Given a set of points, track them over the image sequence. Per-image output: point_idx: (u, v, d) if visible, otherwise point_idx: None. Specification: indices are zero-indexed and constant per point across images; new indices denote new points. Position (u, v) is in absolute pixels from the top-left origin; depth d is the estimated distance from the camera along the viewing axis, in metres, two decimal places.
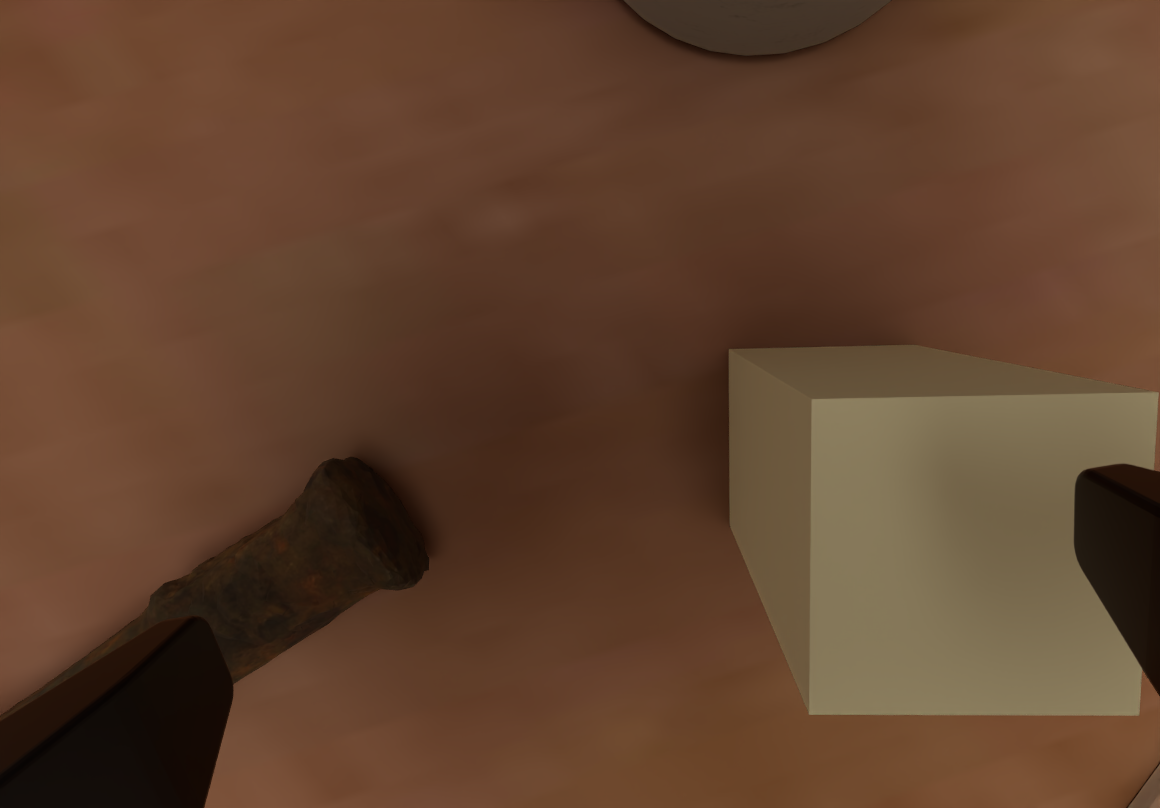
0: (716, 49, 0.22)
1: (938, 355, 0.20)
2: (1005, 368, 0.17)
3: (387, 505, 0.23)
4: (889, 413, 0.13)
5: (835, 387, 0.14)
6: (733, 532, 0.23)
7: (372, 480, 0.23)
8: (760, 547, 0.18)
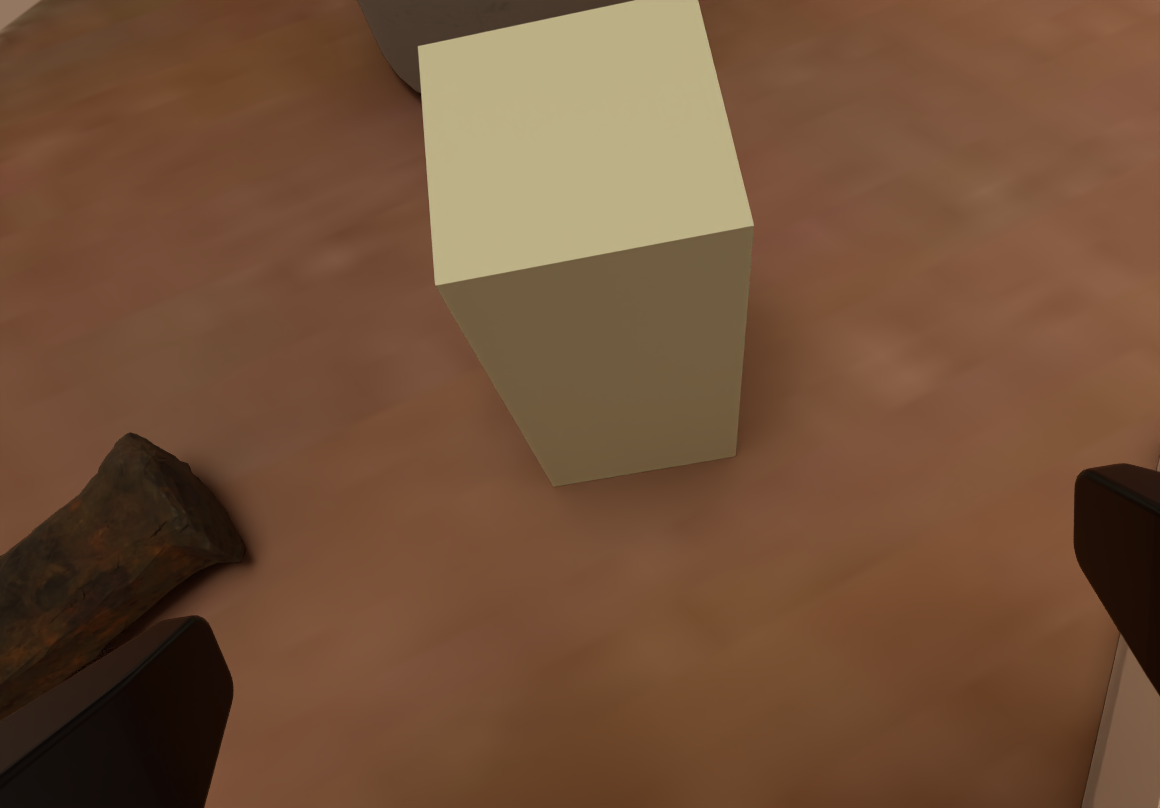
0: None
1: None
2: None
3: (197, 483, 0.23)
4: (481, 42, 0.15)
5: None
6: None
7: (187, 467, 0.24)
8: None
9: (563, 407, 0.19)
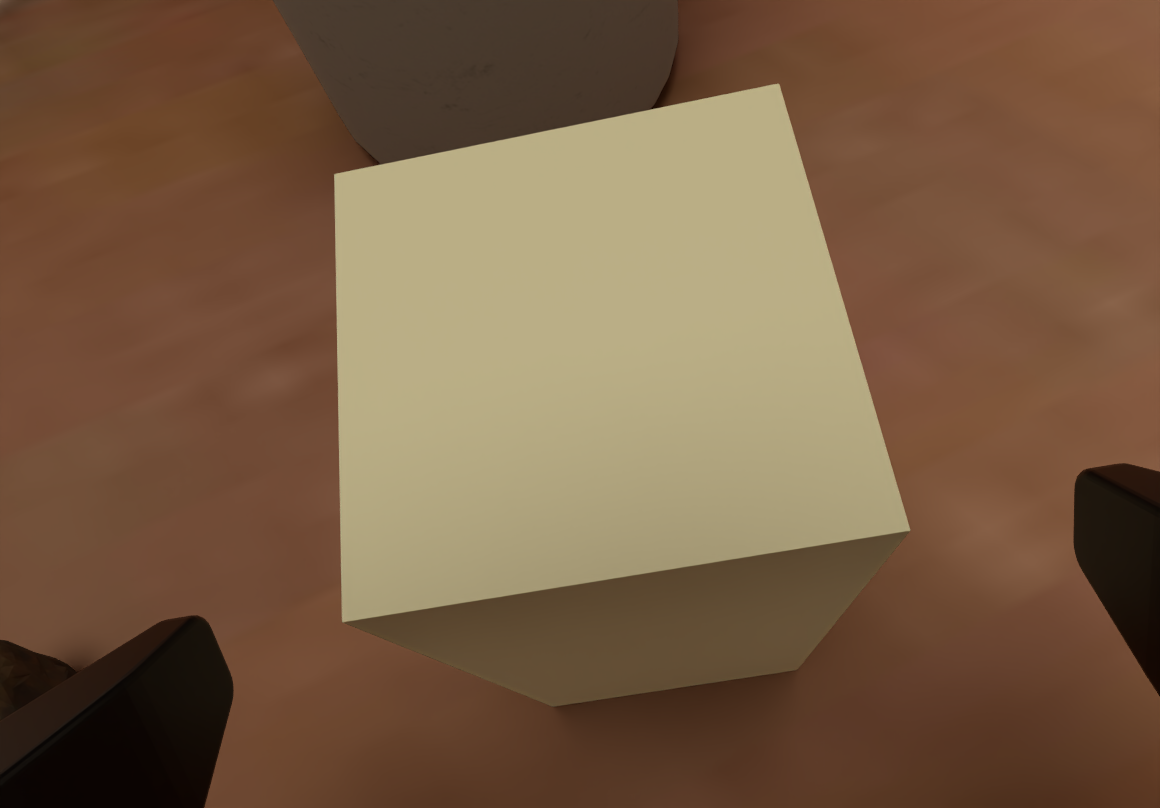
0: None
1: None
2: None
3: None
4: (434, 170, 0.10)
5: None
6: None
7: (64, 674, 0.18)
8: None
9: (566, 670, 0.13)
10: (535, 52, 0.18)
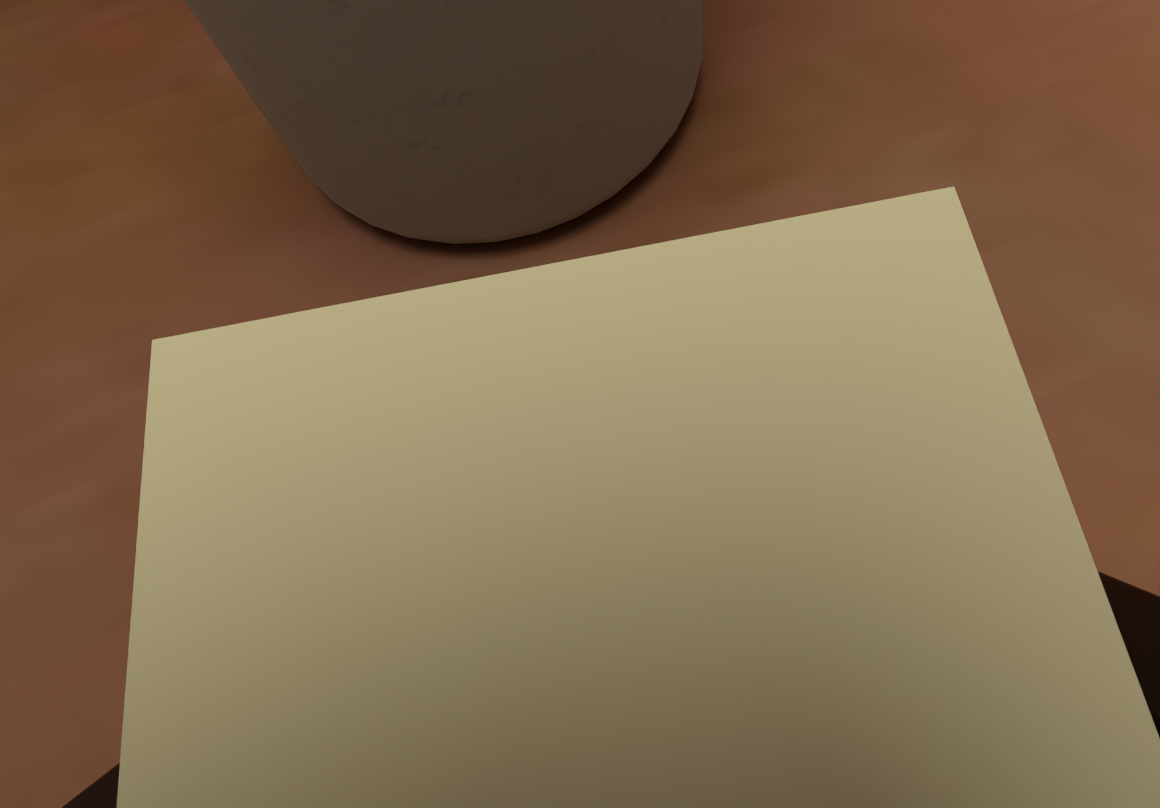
0: (449, 233, 0.18)
1: None
2: None
3: None
4: (325, 340, 0.05)
5: None
6: None
7: None
8: None
9: None
10: (525, 77, 0.14)
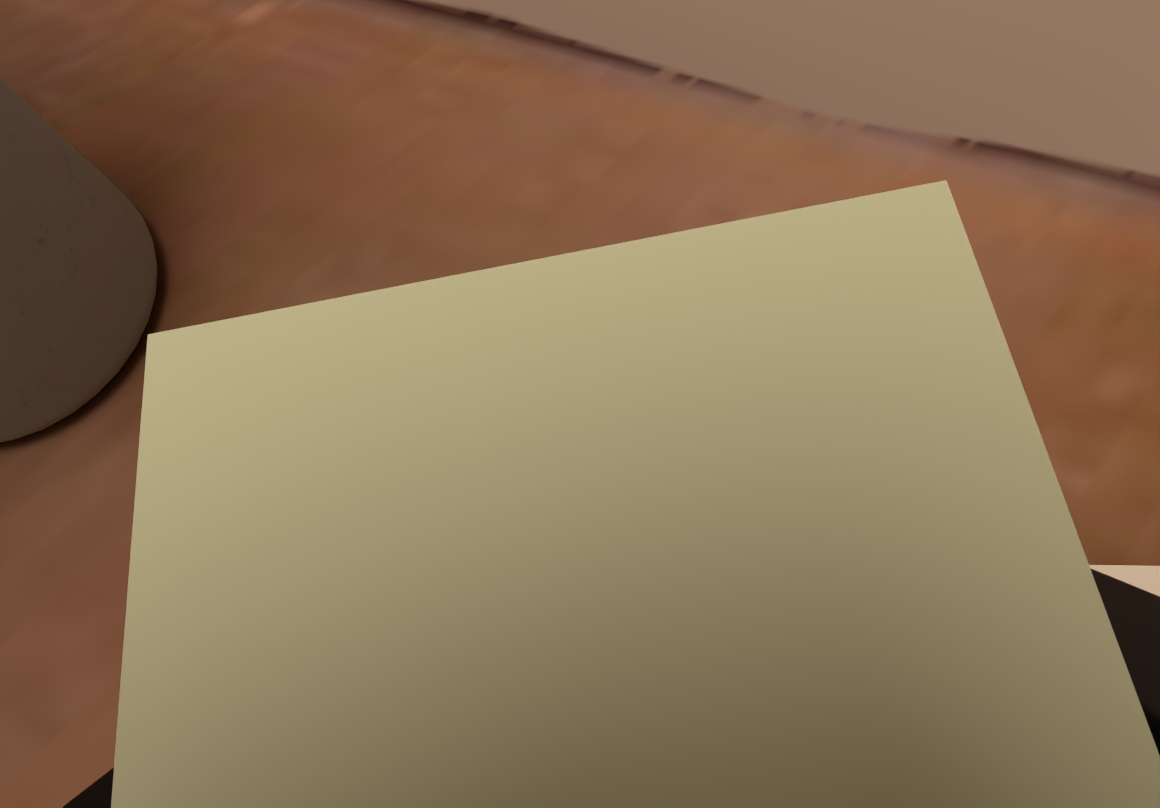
0: (4, 435, 0.26)
1: None
2: None
3: None
4: (320, 334, 0.05)
5: None
6: None
7: None
8: None
9: None
10: None
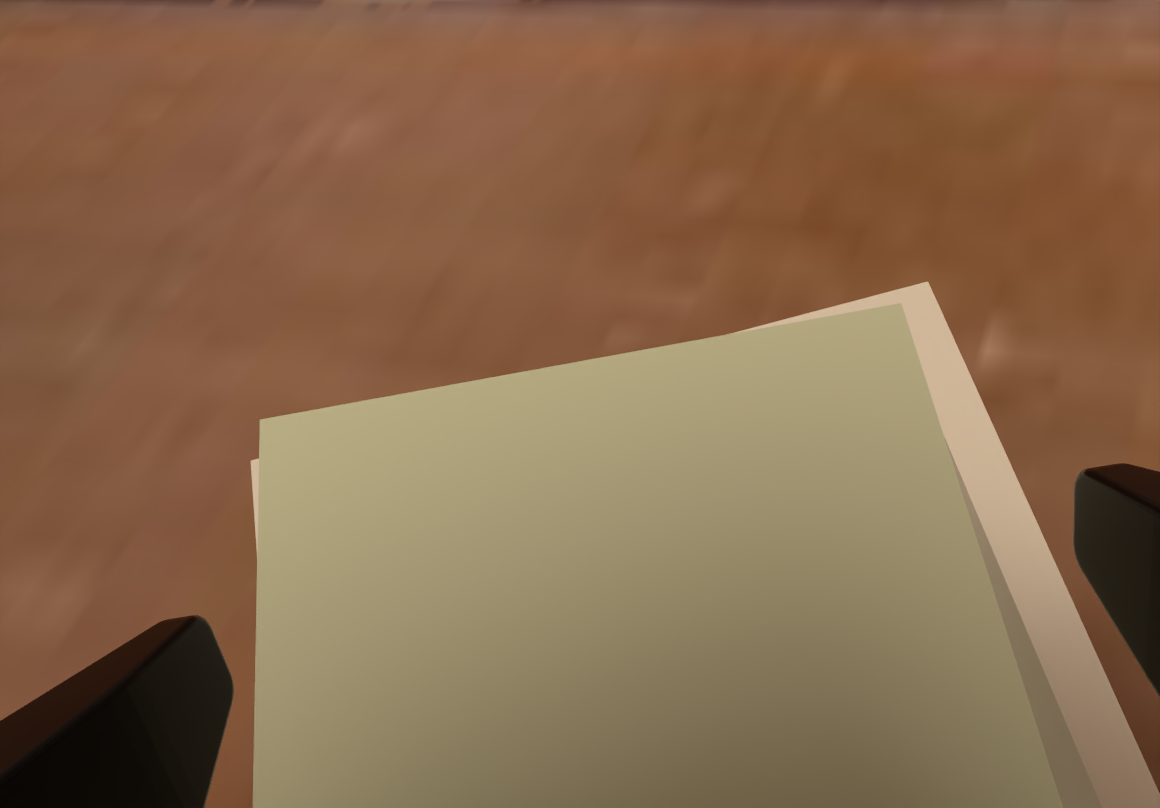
0: None
1: None
2: None
3: None
4: (401, 422, 0.07)
5: None
6: None
7: None
8: None
9: None
10: None
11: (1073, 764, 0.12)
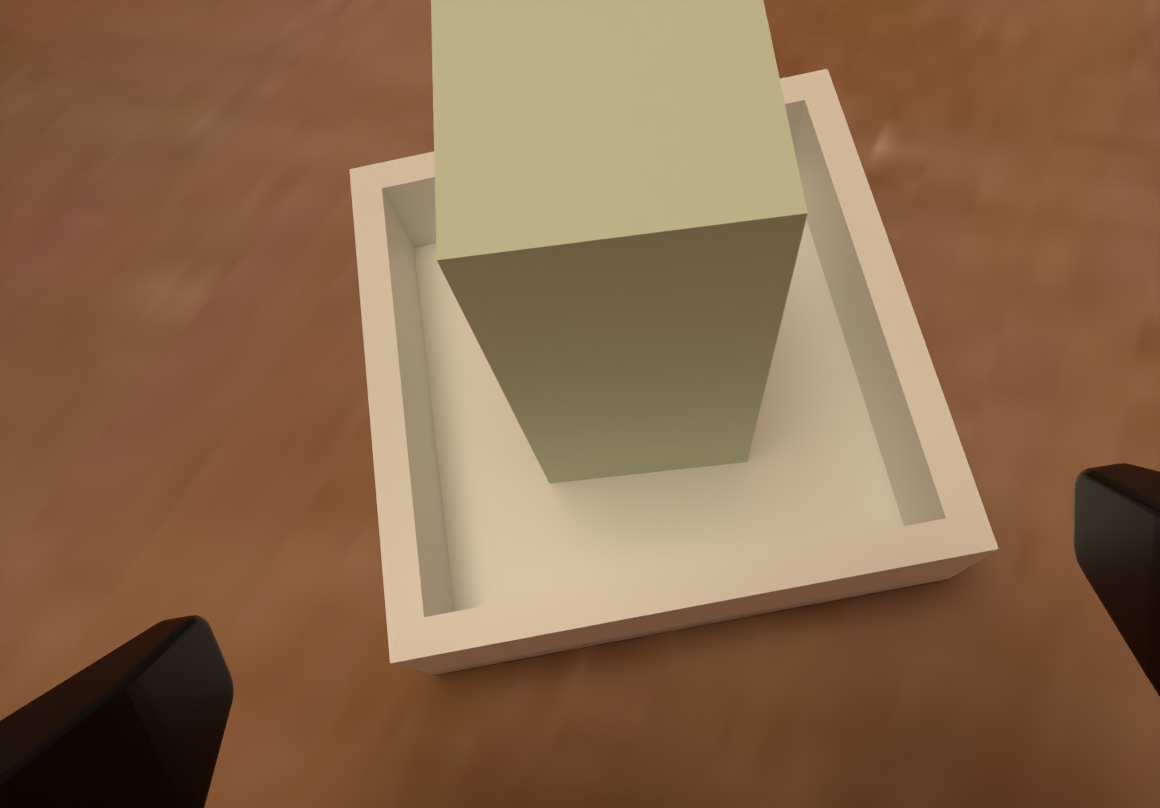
0: None
1: None
2: None
3: None
4: None
5: None
6: None
7: None
8: None
9: (568, 402, 0.17)
10: None
11: (885, 355, 0.20)
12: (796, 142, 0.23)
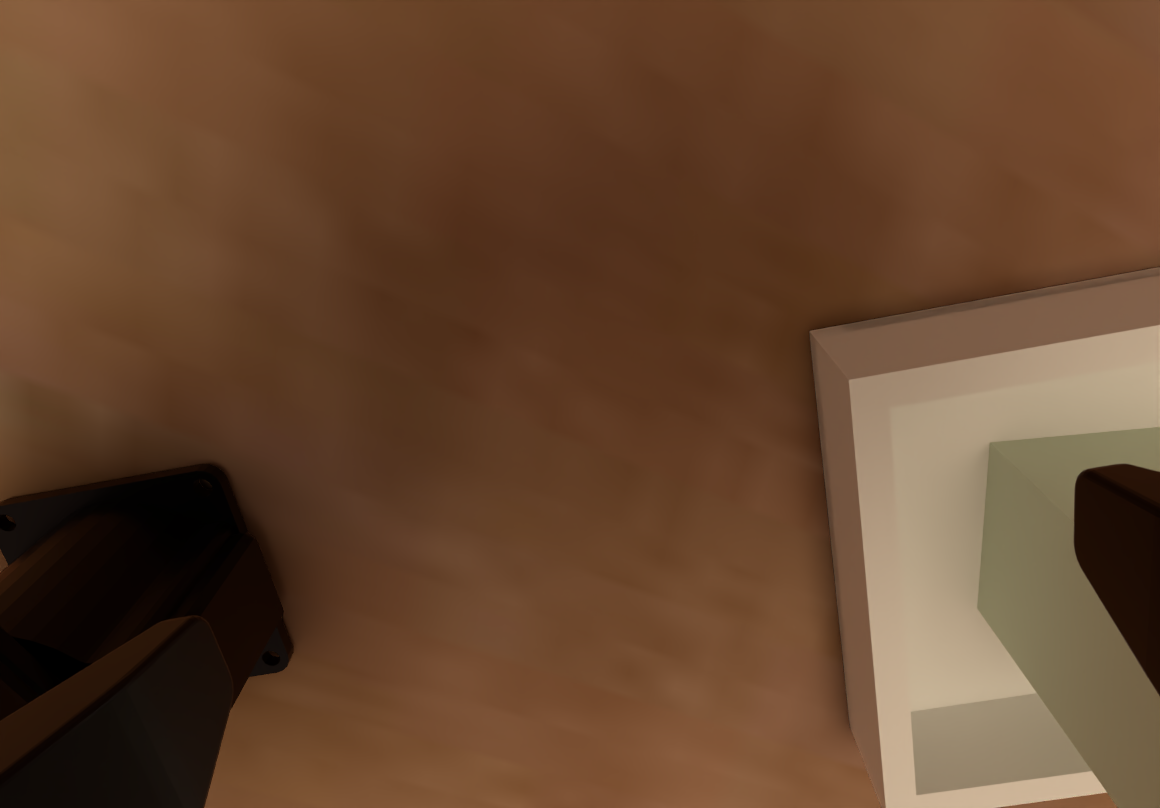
0: None
1: None
2: None
3: None
4: None
5: None
6: (1010, 458, 0.21)
7: None
8: None
9: (1101, 604, 0.17)
10: None
11: (1064, 763, 0.22)
12: None
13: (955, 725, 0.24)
